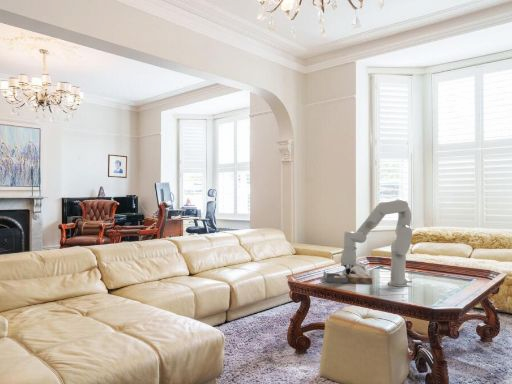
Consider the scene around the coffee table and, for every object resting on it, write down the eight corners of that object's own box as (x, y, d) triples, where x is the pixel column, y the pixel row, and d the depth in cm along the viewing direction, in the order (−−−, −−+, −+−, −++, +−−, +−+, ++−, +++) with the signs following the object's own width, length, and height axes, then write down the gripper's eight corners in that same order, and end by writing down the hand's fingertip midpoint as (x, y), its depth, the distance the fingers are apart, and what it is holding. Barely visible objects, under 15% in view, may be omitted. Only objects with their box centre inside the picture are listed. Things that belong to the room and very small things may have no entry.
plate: (367, 280, 278) (367, 274, 278) (372, 283, 266) (372, 278, 266) (345, 279, 278) (345, 273, 278) (349, 282, 266) (349, 277, 266)
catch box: (343, 278, 279) (344, 271, 279) (348, 283, 265) (348, 275, 265) (323, 277, 280) (323, 270, 280) (326, 282, 266) (326, 275, 266)
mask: (372, 260, 310) (365, 267, 283) (372, 271, 310) (364, 279, 283) (348, 258, 319) (338, 263, 292) (347, 268, 319) (338, 275, 293)
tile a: (341, 272, 275) (338, 273, 275) (343, 274, 269) (340, 275, 269) (344, 277, 275) (341, 279, 275) (345, 279, 269) (343, 281, 269)
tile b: (333, 276, 275) (333, 278, 275) (335, 277, 269) (335, 280, 269) (340, 276, 275) (339, 279, 275) (341, 278, 269) (341, 280, 269)
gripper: (358, 248, 276) (357, 273, 276) (337, 247, 276) (336, 272, 276) (360, 250, 268) (359, 275, 268) (339, 249, 269) (338, 274, 269)
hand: (348, 274), depth 272 cm, fingers closed
